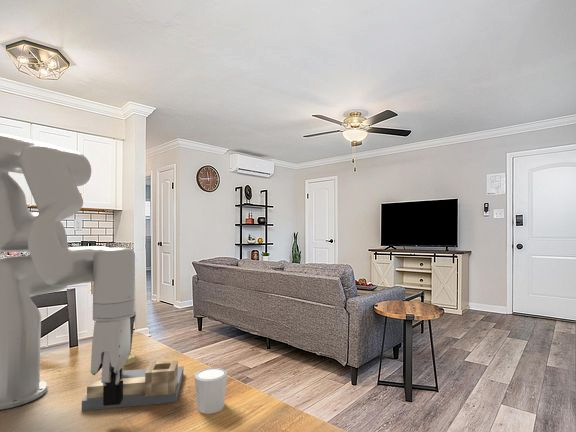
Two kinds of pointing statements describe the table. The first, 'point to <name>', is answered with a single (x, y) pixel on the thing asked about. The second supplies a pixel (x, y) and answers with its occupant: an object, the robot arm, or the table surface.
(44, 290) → the robot arm
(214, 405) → the white cylinder
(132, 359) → the block
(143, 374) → the board
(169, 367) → the link
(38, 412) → the table surface
